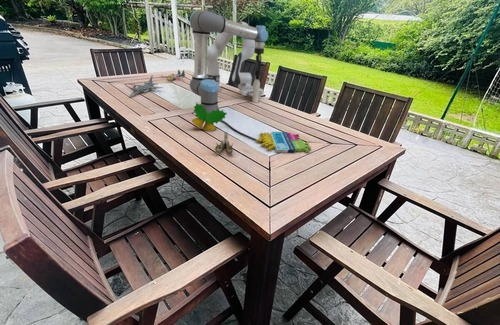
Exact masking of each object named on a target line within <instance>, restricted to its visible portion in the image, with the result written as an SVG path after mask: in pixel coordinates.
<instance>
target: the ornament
mask: <svg viewBox="0 0 500 325" xmlns="http://www.w3.org/2000/svg"><path fill="white" fill-rule="evenodd" d="M219 110H220V108H219V109H217V110H216V111H214V110H212V112H211V113H208V112H206V109H204V106H201V103H198V102H195V105H194V106H193V112H194V113H195V118H192V119H191V122H192V123H193V125H195V127H197V128H198V129H202V130H203V131H206V132H212V131H213V132H214V131H215V130H216V126H215V124H218V123H219V122H222V120H223V119H226V115H227V114H228V113H227V112H224V110H223V109H221V110H220V111H219ZM207 113H208V115H207ZM214 123H215V124H214ZM222 123H223V122H222Z"/></svg>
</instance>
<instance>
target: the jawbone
mask: <svg viewBox="0 0 500 325" xmlns="http://www.w3.org/2000/svg"><path fill="white" fill-rule="evenodd" d="M223 135H224V136H223V140H222V139H221V142H220V144H218V142H215V144H216V146H215V148H214V149H215V152H214V154H215V155H217V156H218V155H220V153H221V152H223V151H224V150H226V152H227V153H228V155H229V156H233V155H234V154H233V153H234V148H233V144H234V143H230V140H228V139H229V138H228V137H229V136H228V135H229V133H228V131H226V132H224V134H223Z"/></svg>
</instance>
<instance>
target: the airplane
mask: <svg viewBox="0 0 500 325" xmlns="http://www.w3.org/2000/svg"><path fill="white" fill-rule="evenodd" d="M153 78H154V75H153V74H151V76H150V78H149V80H148V81H147V82H146V81H144V82H143V85H142V84H134V83H129V84H128V85H130V86H132V87H131V89H133V91H132V92H131V93H130V94H129V95H128V96H127V98H129V97H130V98H131V97H135V96H137V95H139V94H141V93H148V92H150V91H151V90H152V92H154V91H156V90H157V89H163V88H164V87H162V86H157V85H158V83H154V82H153ZM155 85H156V86H155Z"/></svg>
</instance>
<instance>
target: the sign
mask: <svg viewBox="0 0 500 325" xmlns="http://www.w3.org/2000/svg"><path fill="white" fill-rule="evenodd" d="M299 136H300V135H299V134H298V133H296V134H294V133H291V132H287V131H270V132H264V133H263V132H260V133H259V139H258V138H256V139H257V141H255V142H256V143H257V144H261V148H263V147H264V148H265V149H267V151H268V152H271V151H272V150H273V149H275V152H276V153H283V154H285V153H287V154H288V153H290V154H293V153H296V152H298V153H301V152H305V153H310V151H311V150H312V149H311V148H312V146H309V142H304V141H303V139H302V138H299ZM260 142H263V143H260Z"/></svg>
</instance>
